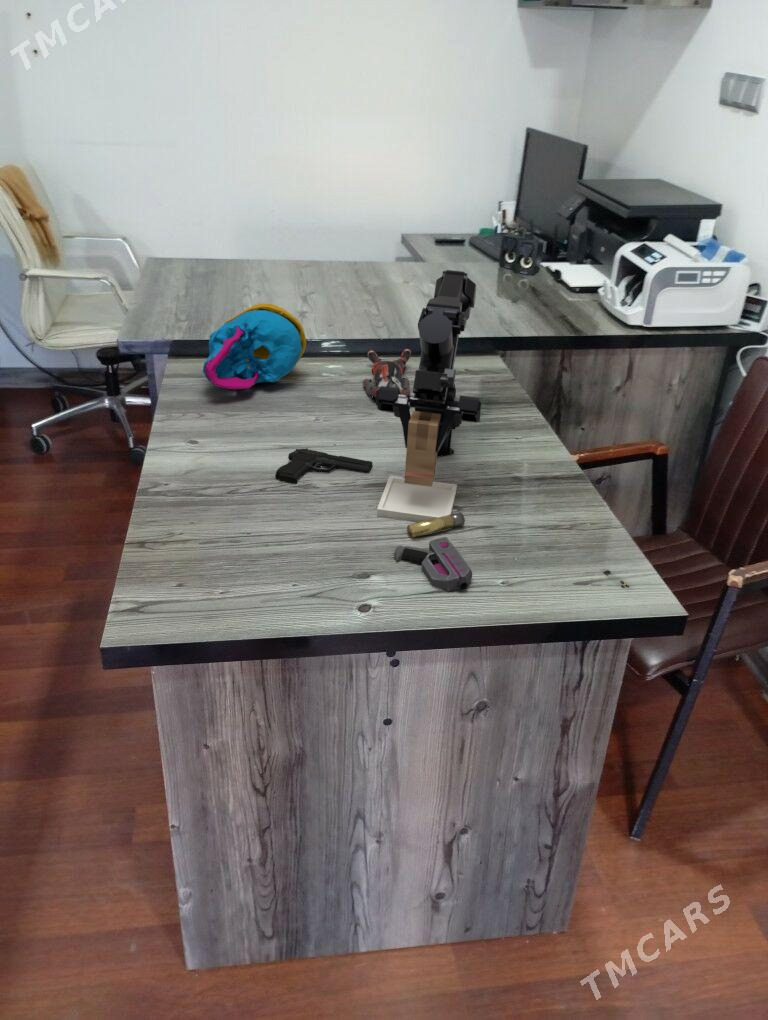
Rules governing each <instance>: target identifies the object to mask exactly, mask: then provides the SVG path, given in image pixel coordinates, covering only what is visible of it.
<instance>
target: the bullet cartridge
mask: <svg viewBox="0 0 768 1020" xmlns="http://www.w3.org/2000/svg"><path fill="white" fill-rule="evenodd" d="M465 522H466V519H465V516H464V514H463V512H460V511H459V512H455V513H451V514H450V515H446V516H442V517H438V518H434V519H430V520H426V521H422V522H414V523H410V524H407V527H406V531H407V536H408V537H409V538H410V539H414V538H419V537H422V536H426V535H430V534H434V533H438V532H441V531H446V530H449V529H455V528H458V527H463V526H464V525H465V524H466V523H465Z"/></svg>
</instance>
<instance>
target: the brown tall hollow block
mask: <svg viewBox="0 0 768 1020" xmlns="http://www.w3.org/2000/svg"><path fill="white" fill-rule="evenodd" d="M410 415H411V417H410V420H409V424H408V438H407V448H406V454H405V455H406V457H405V467H404V469H405V470H404V478H405V480H404V483H408V484H416V485H423V486H431V487H432V484H433V482H434V479H435V476H436V472H437V471H436V469H437V465H438V464H437V458H438V457H437V452H436V443H437V439H438V435H439V430H440V419H441V414H435V413H427V412H419V411H415V410H412V412H411V414H410Z"/></svg>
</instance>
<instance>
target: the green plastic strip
mask: <svg viewBox="0 0 768 1020" xmlns="http://www.w3.org/2000/svg"><path fill="white" fill-rule="evenodd" d="M602 573H603V574H604V575H606V576H610V575H612V573H611V571H610V570H607V569H606V570H604V571H603V572H602ZM614 578H615V577H611V579H612V580H614ZM619 582H620V585H621V586H620V587H621V588H623V589H625V588H627V587H629V588H630V586H629V585H627V583H625V582H624V581H622V580H620V581H619Z"/></svg>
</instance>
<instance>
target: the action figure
mask: <svg viewBox="0 0 768 1020" xmlns="http://www.w3.org/2000/svg"><path fill="white" fill-rule="evenodd" d="M411 355H412V351H411V349H409V348H404V350H403V351H402V352H401V355H400V357H399V358H398V359H395V360H394V359H393V360H382V359H381V358H379V356H378V354H377V353H376V352H375V351H374V350H373V349H370V350H368V352H367V357H368V360H369V361H370V362H371V363H372V364H373V367H372V368H371V375H373V378H374V380H375V382H376V386H373V385H372V378H365V379H364V380H363V382H362V386H363V387H365V391H366V394H367V395H368V396H370V397H372V396H373V397H374V398H375V397H376V392H377V389H378V388H379V387H380V386H385V387H393V388H399V389H400V394H401V395H407V396H411V387H410V380H409V378H408V376H405V377H403V375H404V372H405V371H406V367H407V366H406V365H407V363H408V361H409V360H410V359H411ZM401 382H402V383H401ZM402 385H403V386H402ZM370 397H369V398H370Z"/></svg>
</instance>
